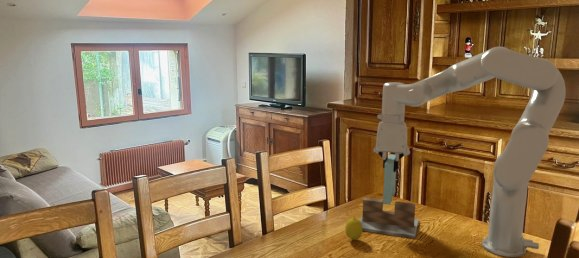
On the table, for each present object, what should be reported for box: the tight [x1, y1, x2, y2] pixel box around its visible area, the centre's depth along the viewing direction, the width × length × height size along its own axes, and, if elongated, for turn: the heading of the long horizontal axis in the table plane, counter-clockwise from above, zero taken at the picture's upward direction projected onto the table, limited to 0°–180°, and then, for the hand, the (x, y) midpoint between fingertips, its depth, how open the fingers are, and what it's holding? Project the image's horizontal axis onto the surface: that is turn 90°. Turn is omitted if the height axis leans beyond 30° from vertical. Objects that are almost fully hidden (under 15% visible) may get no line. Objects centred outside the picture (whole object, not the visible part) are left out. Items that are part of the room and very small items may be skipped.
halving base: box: [358, 197, 419, 239], centre depth 154 cm, size 20×15×9 cm
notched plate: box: [382, 153, 397, 205], centre depth 151 cm, size 14×2×14 cm, turn 160°
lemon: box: [345, 217, 363, 241], centre depth 142 cm, size 6×6×8 cm
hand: (390, 170), depth 151 cm, fingers closed on notched plate, 2 cm apart
